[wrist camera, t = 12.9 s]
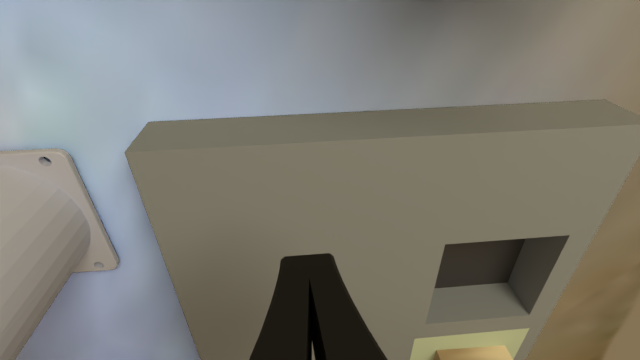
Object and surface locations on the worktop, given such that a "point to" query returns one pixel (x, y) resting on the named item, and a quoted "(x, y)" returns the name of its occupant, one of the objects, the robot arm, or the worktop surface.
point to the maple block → (474, 353)
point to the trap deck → (386, 215)
